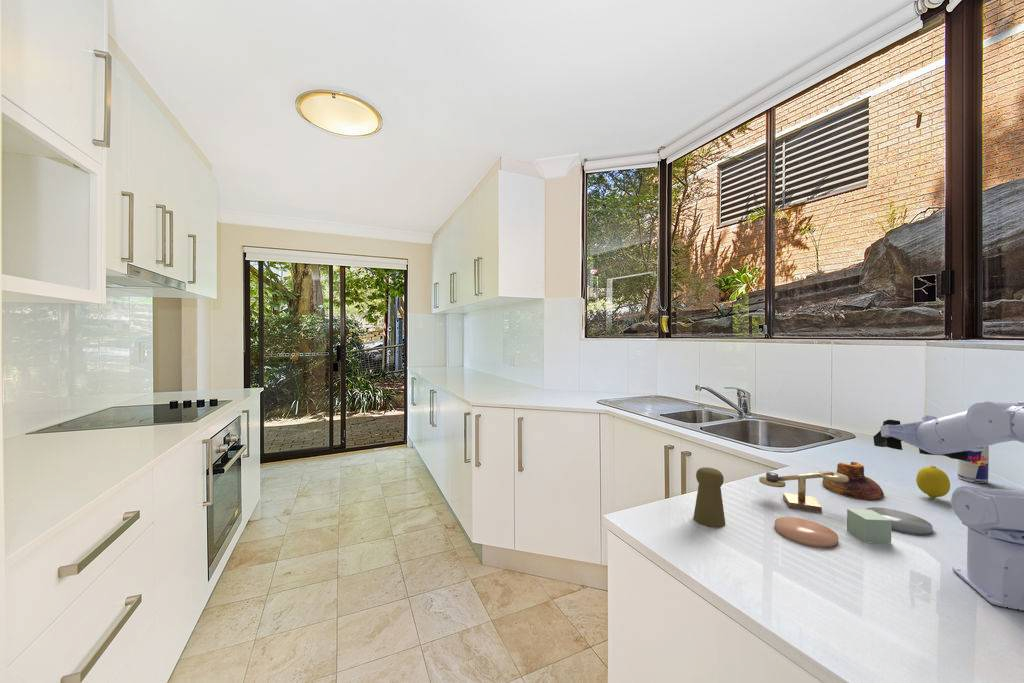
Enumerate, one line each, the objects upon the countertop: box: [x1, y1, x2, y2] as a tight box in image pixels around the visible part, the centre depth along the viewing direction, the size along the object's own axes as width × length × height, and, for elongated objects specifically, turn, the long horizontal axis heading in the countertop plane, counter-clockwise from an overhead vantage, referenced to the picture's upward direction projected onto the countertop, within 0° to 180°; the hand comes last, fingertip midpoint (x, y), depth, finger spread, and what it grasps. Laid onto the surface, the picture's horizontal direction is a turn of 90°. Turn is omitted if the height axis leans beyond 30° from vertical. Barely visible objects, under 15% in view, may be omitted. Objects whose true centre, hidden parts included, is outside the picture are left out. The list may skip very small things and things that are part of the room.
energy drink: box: [957, 445, 990, 484], centre depth 105 cm, size 5×5×12 cm
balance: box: [758, 470, 849, 514], centre depth 89 cm, size 6×17×8 cm, turn 65°
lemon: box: [915, 465, 951, 499], centre depth 93 cm, size 6×6×8 cm
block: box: [846, 508, 892, 544], centre depth 75 cm, size 4×4×4 cm
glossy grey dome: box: [865, 507, 933, 536], centre depth 80 cm, size 10×10×1 cm
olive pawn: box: [693, 466, 726, 529], centre depth 81 cm, size 6×6×11 cm
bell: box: [821, 461, 885, 501], centre depth 97 cm, size 12×12×7 cm
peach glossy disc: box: [774, 516, 839, 549], centre depth 76 cm, size 10×10×1 cm
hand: (898, 444), depth 79 cm, fingers open, 7 cm apart
